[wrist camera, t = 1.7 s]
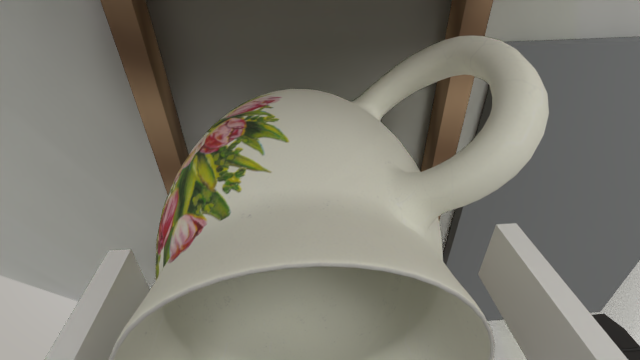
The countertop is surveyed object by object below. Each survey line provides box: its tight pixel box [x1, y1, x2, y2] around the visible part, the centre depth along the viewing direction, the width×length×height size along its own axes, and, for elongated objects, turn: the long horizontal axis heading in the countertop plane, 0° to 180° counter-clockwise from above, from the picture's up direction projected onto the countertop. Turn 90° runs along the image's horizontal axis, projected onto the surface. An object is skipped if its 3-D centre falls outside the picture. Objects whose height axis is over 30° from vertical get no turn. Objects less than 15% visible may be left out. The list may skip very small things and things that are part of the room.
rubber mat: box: [443, 37, 640, 321], centre depth 25 cm, size 24×16×1 cm, turn 1°
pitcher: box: [108, 36, 549, 360], centre depth 14 cm, size 11×18×14 cm, turn 139°
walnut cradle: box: [100, 0, 493, 220], centre depth 17 cm, size 24×16×8 cm
